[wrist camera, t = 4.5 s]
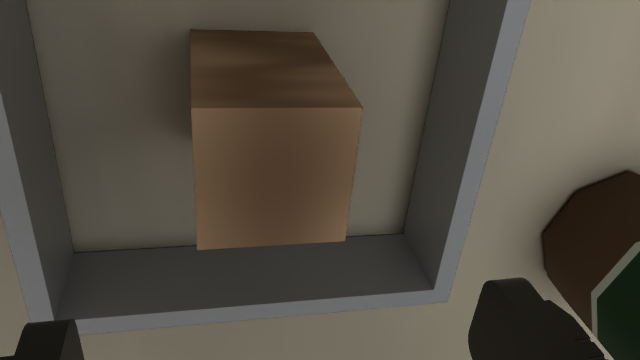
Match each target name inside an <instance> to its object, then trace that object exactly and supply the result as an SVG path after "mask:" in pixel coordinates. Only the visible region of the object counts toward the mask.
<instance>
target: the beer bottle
mask: <svg viewBox="0 0 640 360" xmlns="http://www.w3.org/2000/svg"><path fill="white" fill-rule="evenodd" d="M543 238H544V248H545V259H546V269H547V276H548V277H549V278H550V280H551V281H552V283H553V284H554V285H555V287H556V288H557V290H558V291H559V292H560V294H561V295H562V297H563V298H564V299H565V301H566V302H567V303H568V304H569V305H570V307H571V308H572V309H573V310H574V311H575V313H576V314H577V315H578V316H579V317H580V319H581V320H582V321H583V322H584V323H585V325H586V326H587V327H588V328H589V330H590V331H591V332H592V333H593V334H594V336H595V337H596V338H597V339H598V340H599V342H600V343H601V344H602V345H603V346H604V348H605V349H606V350H607V351H608V353H609V354H610V355H611V356H612V357H613V359H614V360H640V175H638V174H635V173H632V172H625V173H623V174H620V175H618V176H615V177H612V178H610V179H607V180H605V181H602V182H600V183H597V184H594V185H592V186H589V187H587V188H584V189H581V190H579V191H576V192H575V194H574V195H573V196H572V197H571V199H570V200H569V201H568V202H567V204H566V205H565V206H564V207H563V209H562V210H561V211H560V212H559V214H558V215H557V216H556V218H555V219H554V220H553V221H552V223H551V224H550V225H549V226H548V228H547V229H546V230H545V231H544V233H543Z"/></svg>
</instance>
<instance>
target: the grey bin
mask: <svg viewBox="0 0 640 360" xmlns="http://www.w3.org/2000/svg"><path fill="white" fill-rule="evenodd" d="M530 2H531V0H450V4H449V9H448V14H447V19H446V24H445V28H444V33H443V38H442V43H441V48H440V53H439V58H438V63H437V68H436V73H435V78H434V83H433V88H432V93H431V98H430V103H429V108H428V113H427V118H426V123H425V128H424V133H423V138H422V142H421V147H420V152H419V157H418V162H417V167H416V172H415V177H414V182H413V187H412V192H411V197H410V202H409V207H408V212H407V217H406V222H405V227H404V232H403V234H391V235H374V236H357V237H346V239H345V241H339V242H323V243H306V244H290V245H273V246H256V247H240V248H223V249H207V250H197V246H187V247H170V248H153V249H136V250H119V251H102V252H85V253H74V251H73V246H72V241H71V235H70V230H69V225H68V220H67V214H66V209H65V204H64V199H63V194H62V188H61V183H60V178H59V173H58V168H57V162H56V157H55V152H54V147H53V141H52V136H51V131H50V126H49V121H48V115H47V110H46V105H45V100H44V95H43V89H42V84H41V79H40V74H39V68H38V63H37V58H36V53H35V48H34V42H33V37H32V32H31V27H30V22H29V16H28V11H27V6H26V1H25V0H0V211H1V214H2V218H3V222H4V226H5V229H6V233H7V237H8V241H9V244H10V248H11V252H12V256H13V259H14V263H15V267H16V271H17V274H18V278H19V282H20V286H21V289H22V293H23V297H24V301H25V304H26V308H27V312H28V316H29V319H30V323H34V322H44V321H55V320H65V319H74V320H75V322H76V325H77V329H78V334H79V335H86V334H97V333H109V332H120V331H131V330H142V329H153V328H165V327H176V326H187V325H198V324H209V323H220V322H232V321H243V320H254V319H265V318H276V317H287V316H299V315H310V314H321V313H332V312H343V311H354V310H366V309H377V308H388V307H399V306H410V305H421V304H433V303H444V302H448V298H449V295H450V291H451V287H452V284H453V280H454V277H455V273H456V269H457V266H458V262H459V259H460V255H461V251H462V248H463V244H464V240H465V237H466V233H467V230H468V226H469V222H470V219H471V215H472V212H473V208H474V204H475V201H476V197H477V193H478V190H479V186H480V183H481V179H482V175H483V172H484V168H485V164H486V161H487V157H488V154H489V150H490V146H491V143H492V139H493V136H494V132H495V128H496V125H497V121H498V117H499V114H500V110H501V107H502V103H503V99H504V96H505V92H506V89H507V85H508V81H509V78H510V74H511V70H512V67H513V63H514V60H515V56H516V52H517V49H518V45H519V42H520V38H521V34H522V31H523V27H524V23H525V20H526V16H527V13H528V9H529V5H530Z"/></svg>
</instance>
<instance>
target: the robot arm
mask: <svg viewBox="0 0 640 360" xmlns="http://www.w3.org/2000/svg"><path fill="white" fill-rule="evenodd" d="M468 343H469V349H470V353H471V357H472V359H473V360H606V359H605V358H604V354H603V353H602V351H601V350H600V349H599V348H598V347H597V345H596V344H595V343H594V342H591V341H590V337H589V336H588V334H587V333H586V332H585V331H584V330H583V328H582V327H581V326H580V325H579V323H578V322H577V321H576V320H575V319H574V317H572V316H571V315H570V314H568V313H567V312H566V311H564V310H563V309H561V308H560V307H559V306H557V305H556V304H555V303H553V302H552V301H550V300H546V301H544V300H543V299H542V298H541V296H540V295H539V294H538V293H537V291H536V290H535V289H534V287H533V286H532V285H531V284H530V283H529V281H527V280H526V279H524V278H511V279H501V280H490V281H487V282H486V283H485V284H484V285H483V288H482V291H481V294H480V297H479V300H478V304H477V307H476V310H475V313H474V316H473V320H472V323H471V326H470V329H469V334H468ZM0 360H84V356H83V352H82V347H81V343H80V338H79V334H78V329H77V325H76V322H75V320H74V319H65V320H55V321H44V322H34V323H27V324H26V325H25V327H24V328H23V331H22V334H21V337H20V340H19V343H18V346H17V349H16V352H15V355H14V356H7V357H0ZM607 360H608V359H607Z"/></svg>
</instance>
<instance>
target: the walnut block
mask: <svg viewBox="0 0 640 360" xmlns="http://www.w3.org/2000/svg"><path fill="white" fill-rule="evenodd" d="M190 30H191V120H192V143H193V167H194V190H195V214H196V238H197V250H207V249H223V248H240V247H256V246H273V245H290V244H306V243H323V242H339V241H345V239H346V231H347V224H348V216H349V209H350V202H351V194H352V187H353V179H354V172H355V164H356V157H357V150H358V142H359V135H360V127H361V120H362V112H363V107H362V105H361V104H360V102H359V101H358V99H357V98H356V96H355V95H354V93H353V92H352V90H351V89H350V87H349V86H348V84H347V82H346V81H345V79H344V78H343V76H342V75H341V73H340V72H339V70H338V69H337V67H336V66H335V64H334V63H333V61H332V60H331V58H330V57H329V55H328V54H327V52H326V51H325V49H324V48H323V46H322V45H321V43H320V42H319V40H318V39H317V37H316V36H315V34H314V33H311V32H273V31H234V30H196V29H190Z"/></svg>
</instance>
